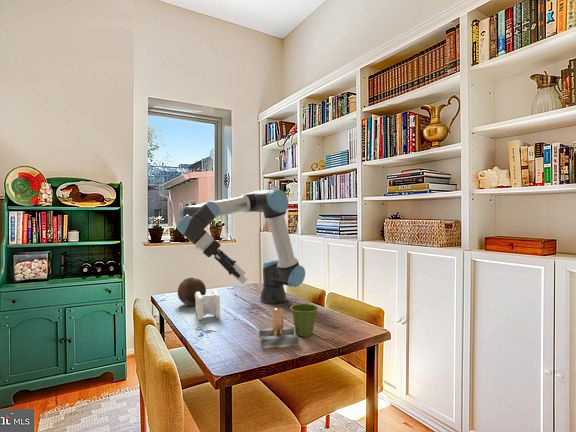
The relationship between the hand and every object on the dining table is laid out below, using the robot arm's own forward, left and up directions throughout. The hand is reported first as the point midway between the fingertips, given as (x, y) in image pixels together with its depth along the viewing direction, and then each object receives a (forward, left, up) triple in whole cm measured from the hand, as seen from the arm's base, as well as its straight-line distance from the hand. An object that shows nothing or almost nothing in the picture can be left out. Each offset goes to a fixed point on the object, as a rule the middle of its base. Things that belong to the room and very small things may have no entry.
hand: (244, 278), depth 151 cm
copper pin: (+2, +20, -22) cm, 29 cm away
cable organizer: (-3, -28, -23) cm, 36 cm away
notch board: (+2, +20, -23) cm, 30 cm away
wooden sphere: (-12, -51, -23) cm, 57 cm away
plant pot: (-11, +24, -23) cm, 35 cm away
